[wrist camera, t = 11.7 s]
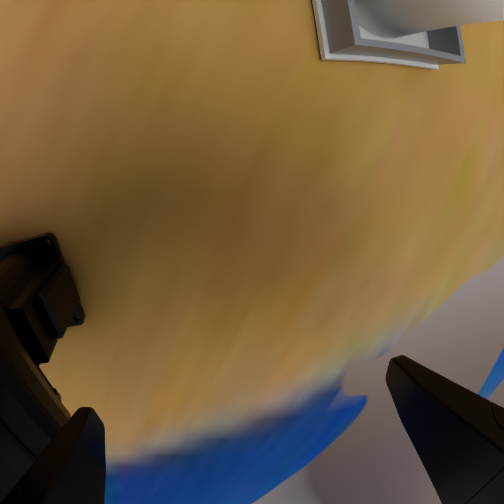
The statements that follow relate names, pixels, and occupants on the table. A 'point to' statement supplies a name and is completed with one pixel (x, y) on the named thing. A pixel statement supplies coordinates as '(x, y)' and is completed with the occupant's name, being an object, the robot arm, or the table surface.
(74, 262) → the table surface
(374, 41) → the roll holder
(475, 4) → the paper towel roll
